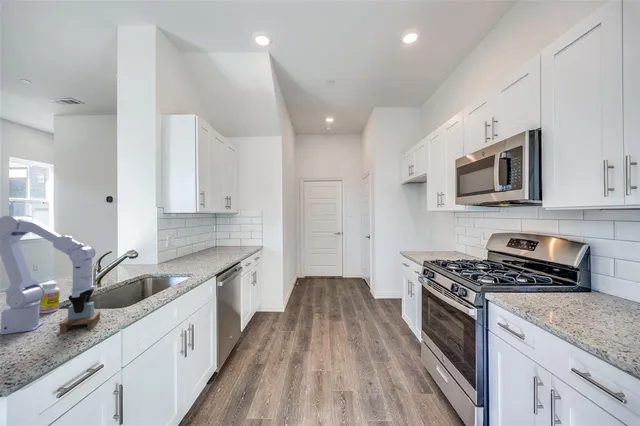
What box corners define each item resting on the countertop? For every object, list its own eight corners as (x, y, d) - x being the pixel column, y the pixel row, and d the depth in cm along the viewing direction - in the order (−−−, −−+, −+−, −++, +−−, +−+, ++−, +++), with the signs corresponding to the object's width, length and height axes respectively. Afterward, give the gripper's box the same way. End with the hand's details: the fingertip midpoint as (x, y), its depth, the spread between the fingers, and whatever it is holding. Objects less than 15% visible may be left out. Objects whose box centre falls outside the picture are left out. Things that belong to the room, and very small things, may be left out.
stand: (59, 332, 100) (59, 323, 100) (69, 322, 109) (69, 314, 109) (93, 328, 105) (93, 319, 105) (100, 318, 113) (100, 310, 114)
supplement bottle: (45, 314, 117) (46, 285, 117) (34, 313, 118) (35, 284, 118) (63, 309, 123) (63, 281, 123) (52, 308, 125) (52, 280, 125)
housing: (68, 319, 103) (68, 305, 103) (71, 316, 107) (72, 301, 107) (90, 317, 107) (91, 302, 107) (93, 313, 110) (94, 299, 110)
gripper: (89, 279, 102) (88, 314, 102) (100, 272, 115) (99, 303, 115) (65, 281, 99) (64, 317, 99) (78, 273, 112) (78, 305, 112)
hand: (81, 310), depth 107 cm, fingers open, 5 cm apart
